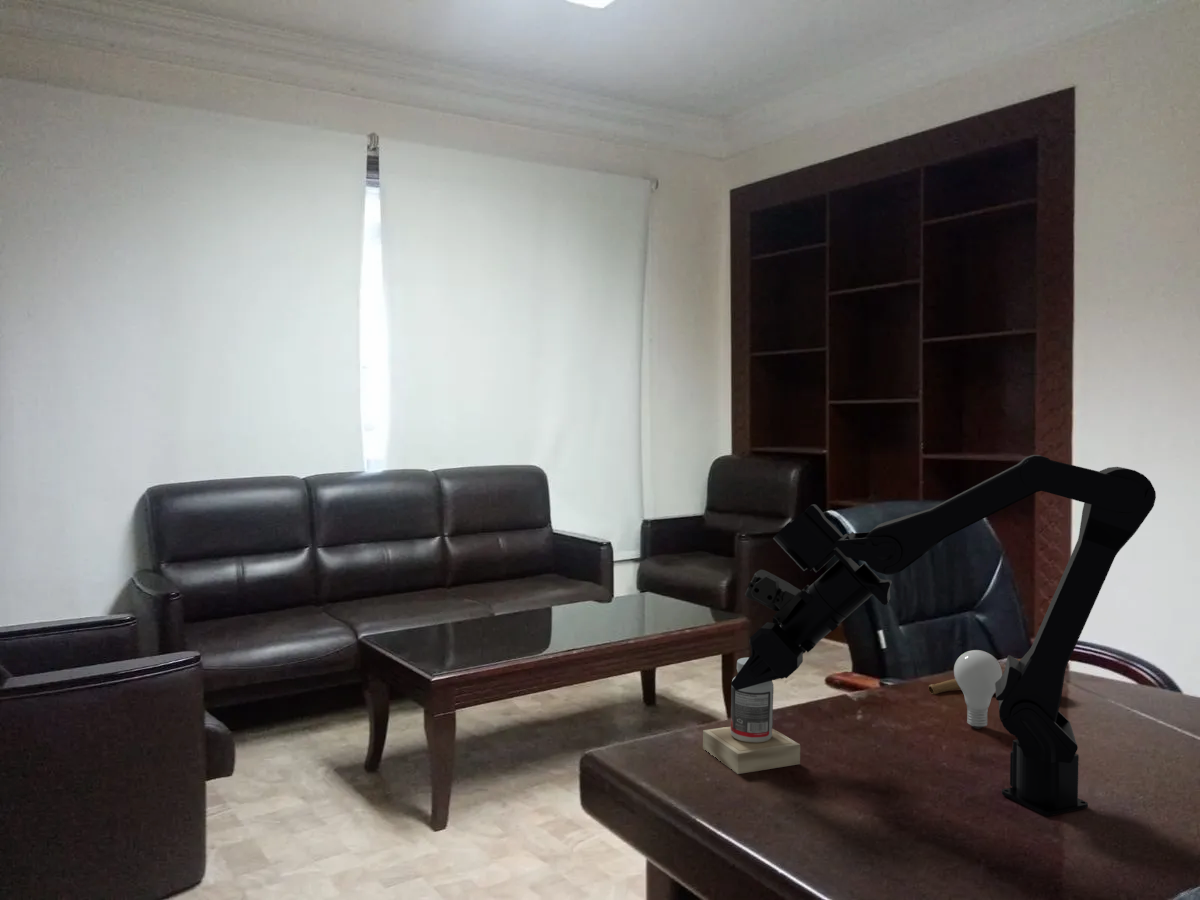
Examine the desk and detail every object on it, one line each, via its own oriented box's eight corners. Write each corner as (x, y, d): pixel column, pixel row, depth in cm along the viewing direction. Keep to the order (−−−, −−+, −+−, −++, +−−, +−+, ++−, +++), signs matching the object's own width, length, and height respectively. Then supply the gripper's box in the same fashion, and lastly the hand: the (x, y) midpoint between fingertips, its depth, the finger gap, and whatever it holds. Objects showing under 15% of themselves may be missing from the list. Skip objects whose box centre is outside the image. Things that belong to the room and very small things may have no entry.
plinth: (799, 764, 111) (800, 744, 111) (737, 774, 107) (738, 753, 107) (761, 740, 119) (761, 721, 119) (702, 749, 116) (703, 729, 116)
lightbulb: (1009, 735, 121) (1010, 656, 121) (963, 735, 121) (964, 656, 121) (990, 720, 128) (991, 645, 127) (946, 719, 128) (947, 645, 128)
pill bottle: (737, 725, 117) (739, 653, 116) (777, 733, 114) (779, 659, 114) (724, 738, 112) (726, 663, 112) (765, 747, 110) (767, 669, 109)
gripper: (799, 542, 119) (719, 615, 124) (768, 561, 102) (678, 645, 107) (858, 604, 116) (774, 677, 121) (837, 634, 99) (741, 718, 104)
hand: (742, 677), depth 113 cm, fingers open, 9 cm apart
